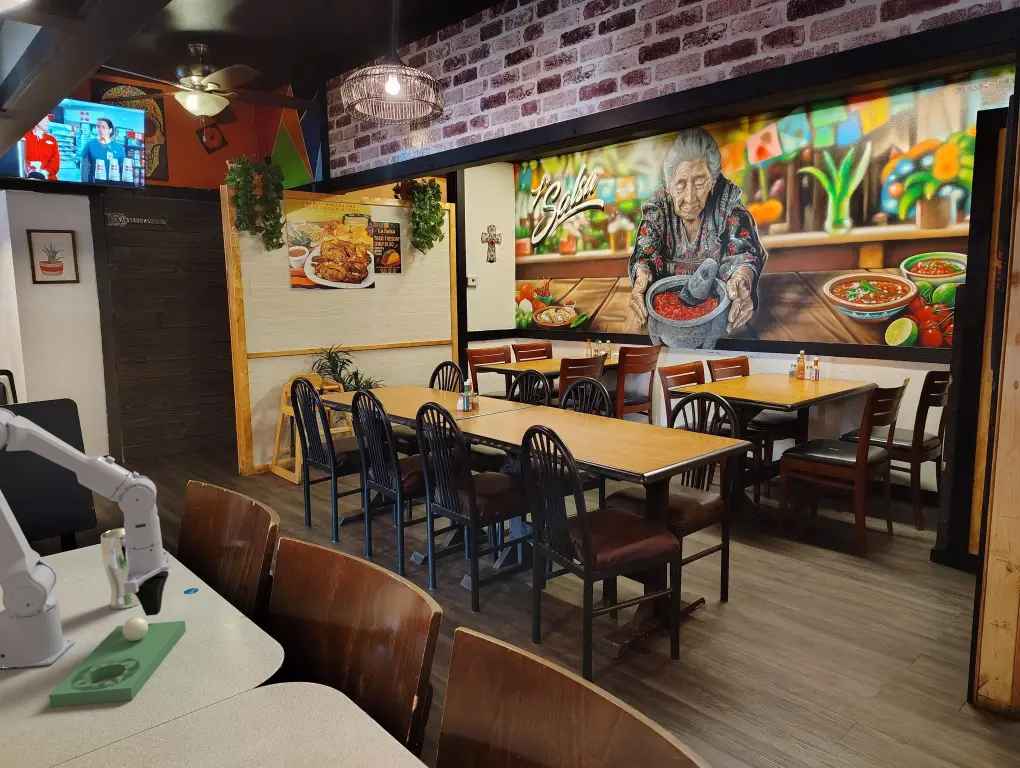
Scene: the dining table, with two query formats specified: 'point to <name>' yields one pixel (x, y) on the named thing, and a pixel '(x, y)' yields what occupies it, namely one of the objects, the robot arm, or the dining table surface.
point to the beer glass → (117, 567)
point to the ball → (135, 628)
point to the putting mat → (118, 666)
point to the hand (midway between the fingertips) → (153, 613)
